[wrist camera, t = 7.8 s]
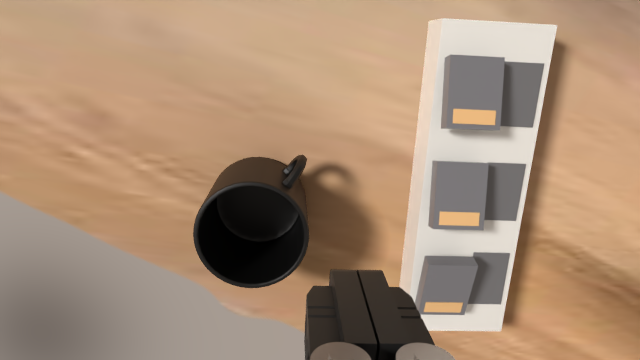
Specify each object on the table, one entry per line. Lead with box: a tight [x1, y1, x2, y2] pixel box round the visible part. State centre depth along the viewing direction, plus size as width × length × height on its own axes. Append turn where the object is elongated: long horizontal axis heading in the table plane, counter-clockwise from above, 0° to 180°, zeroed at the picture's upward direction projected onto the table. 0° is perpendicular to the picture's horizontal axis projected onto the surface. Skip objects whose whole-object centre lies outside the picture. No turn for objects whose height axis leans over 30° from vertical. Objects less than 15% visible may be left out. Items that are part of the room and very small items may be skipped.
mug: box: [193, 155, 309, 288], centre depth 41 cm, size 9×12×9 cm
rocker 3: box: [415, 256, 478, 315], centre depth 43 cm, size 6×5×2 cm
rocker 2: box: [428, 161, 489, 230], centre depth 41 cm, size 6×5×2 cm
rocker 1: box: [441, 54, 505, 131], centre depth 39 cm, size 6×5×2 cm
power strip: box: [399, 18, 557, 331], centre depth 45 cm, size 30×10×4 cm, turn 177°
